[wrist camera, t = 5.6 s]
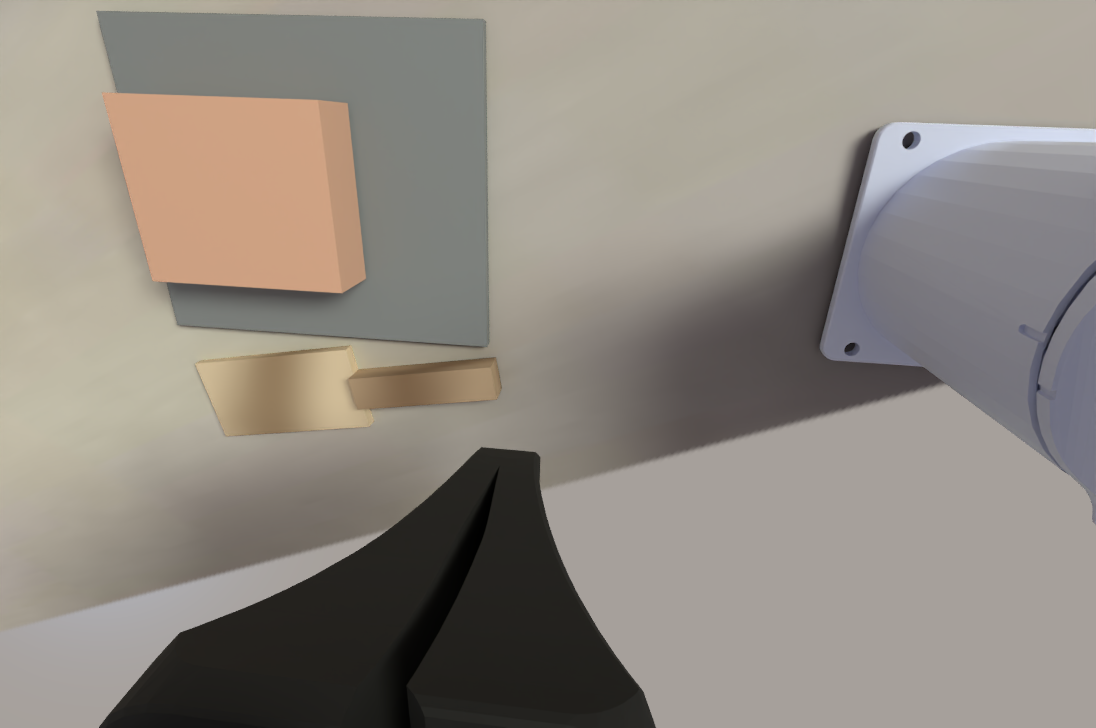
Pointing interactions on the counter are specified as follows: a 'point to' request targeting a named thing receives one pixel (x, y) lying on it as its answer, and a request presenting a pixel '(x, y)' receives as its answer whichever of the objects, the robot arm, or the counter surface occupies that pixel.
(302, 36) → the mat
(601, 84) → the counter surface
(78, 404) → the counter surface
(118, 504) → the counter surface
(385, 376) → the wooden cleaver
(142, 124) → the tile
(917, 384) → the counter surface
